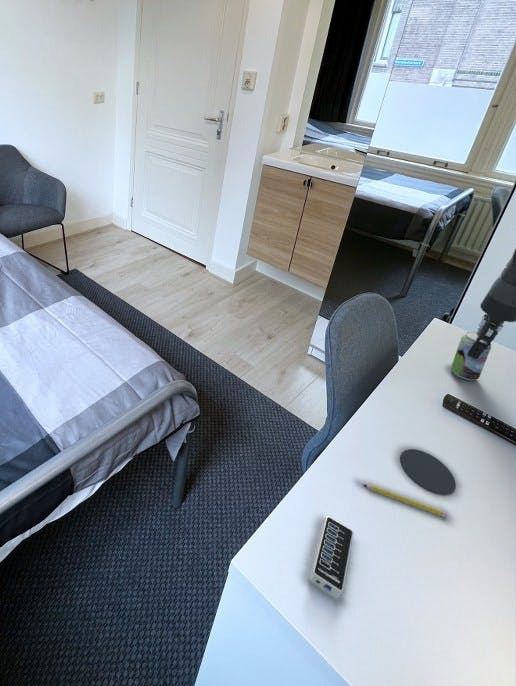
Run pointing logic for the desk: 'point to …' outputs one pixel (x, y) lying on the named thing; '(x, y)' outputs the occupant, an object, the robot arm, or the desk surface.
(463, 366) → the beverage can
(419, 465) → the coaster
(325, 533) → the multiport hub
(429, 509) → the pencil
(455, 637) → the desk surface
